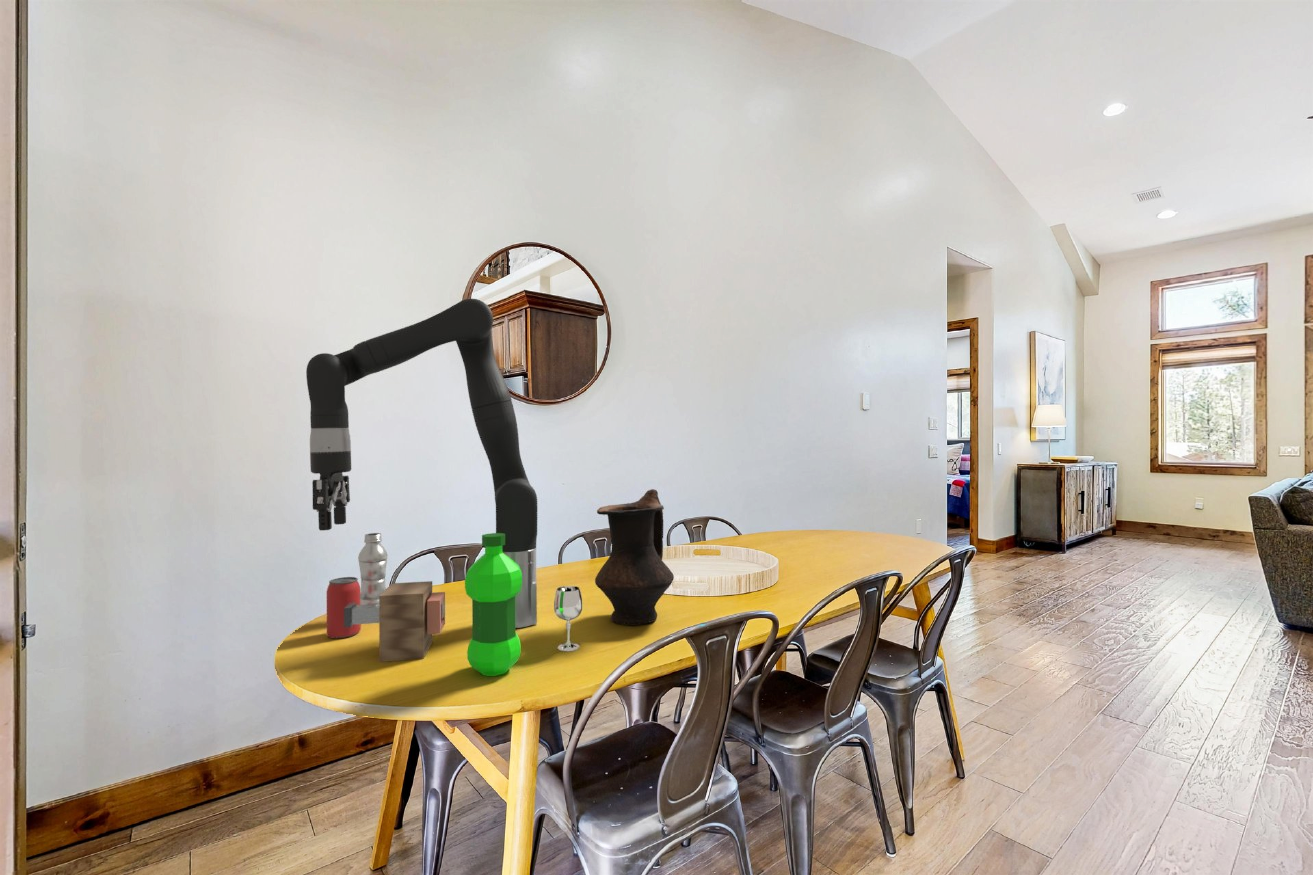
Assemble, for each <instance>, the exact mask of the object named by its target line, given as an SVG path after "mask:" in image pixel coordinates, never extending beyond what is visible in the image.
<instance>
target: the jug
mask: <svg viewBox="0 0 1313 875" xmlns="http://www.w3.org/2000/svg"><path fill="white" fill-rule="evenodd" d="M663 510H665V507H664V505H662V504H661V501H660V499H659V492H658V491H657V489H654V488H653V489H648V490H647V491H646V492H645V493H644V495H642V497H641V498H639V499H638V501H634V502H628V503H622V504H610V505H605V506H601V507H599V508H598V509H597V510H596V513H597V515H603V516H607V521H608V526H609V533H610V543H611V551H610V554H609V557H608V559H607V560H606V561H605V562H604V564H603V565H602V567H601V568H600V570H599V571H598V573H597V575H596V576H595V578H594V582H595V583H594V584H595V586H596V587H597V588H598V589H600V591H601V592H602V593H603V594H604V595H605V596H606V597H607V599H608V600H609V602H610V604H611V605H612V606H613V611H612V613H611V615H610V619H611V620H610V621H611V622H612V623H615V624H618V625H631V626H634V625H643V624H648V623H652V622H655V621H657V618H658V613H657V611H656V605H657V603H658V601H659V600H660V599H661V598H662V596H663V595H664V593H665V592H666V590H669V588H670V586H671V585H672V583H673V581H674V579H675V576H674V574H673V572H672V571H671V569H670V568H669V567H668V566H667V564H666V563H665V562H664V561H663V556H664V541H663V539H664V511H663Z"/></svg>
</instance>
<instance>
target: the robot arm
mask: <svg viewBox="0 0 1313 875" xmlns="http://www.w3.org/2000/svg"><path fill="white" fill-rule="evenodd" d="M493 324H494V315H493V311H492V309H491V308H490V307H489V305H488V304H487V303H485V302H484V301H482V300H480V299H477V298H465V299H462V300H460V301H459V302H457V303H455V304H453V305H452V306H450V307H448V308H447V309H445V310H443V311H441V312H439V313H437V314H435V315H432V316H431V317H428V318H426V319H423V320H420V321H418V322H416V323H414V324H411V325H408V326H405V327H402V328H399V329H396V330H393V331H390V332H387V333H384V334H381V335H378V336H375V337H371V338H369V339H367V340H364V341H361V342H358V343H357V344H355V345H354V346H353V347H352V348H350V349H348V350H345V351H342V352H340V353H336V354H331V353H328V352H327V353H326V352H325V353H324V352H323V353H319V354H316V355H314V356H312V357H311V358H310V359H309V361H308V363H307V366H306V375H305V376H306V384H307V385H306V386H307V392H308V397H309V402H310V403H309V404H310V435H309V458H310V460H309V461H310V465H309V466H310V472H311V473H312V474H314V475H315V474H317V475H318V474H319V479H312V482H311V483H312V510H314V511H316V513H317V514H318V515H317V516H318V530H319V531H330V530H331V529H332V528H333V527H332V525H333V523H334V525H344V524H346V523H347V510H346V509H347V508H346V507H347V506H348V503H350V501H351V497H350V495H351V494H350V493H351V492H350V477H349V475H344V474H343V473H349V472H351V470H352V449H351V448H352V446H351V445H352V444H351V443H352V442H351V434H350V428H349V424H350V423H349V408H348V405H347V402H346V389H345V388H346V386H348V385H351V384H353V383H355V382H357V381H359V380H361V379H363V378H366V377H367V376H370V375H372V374H377V373H379V372H383V371H385V370H387V369H390V368H393V367H397V366H398V365H401V364H403V363H406V362H408V361H409V360H412V359H414V358H415V357H418V356H420V355H421V354H424V353H426V352H427V351H430V350H432V349H434V348H436V347H439V346H442V345H445V344H449V343H453V342H455V343H456V345H457V347H458V351H459V353H460V355H461V359H462V363H463V366H464V370H465V377H466V386H467V392H468V397H469V403H470V409H471V411H472V416H473V420H474V424H475V427H476V431H477V433H478V436H479V440H480V442H481V444H482V447H483V450H484V451H485V454H486V457H487V459H488V463H489V467H490V471H491V477H492V483H493V491H494V503H495V533H503V534H505V545H502V553H504V554H505V555H507V556H508V557H509V558H511V559H512V560H513V561H514V562H515V563H516V564H517V565H519V567H520V570H521V572H522V586H521V591H520V592H519V593H518V594H517V595H516V596H515V629H519V628H525V627H529V626H530V627H531V626H532V625H537V623H538V621H537V620H538V618H537V617H538V607H537V605H538V600H537V597H538V596H537V594H538V593H537V590H538V587H537V583H538V582H537V581H538V580H537V537H538V497H537V496H538V495H537V493H536V491H535V489H534V487H533V486H532V485H531V483H530V481H529V479H528V476H527V474H526V470H525V467H524V464H523V460H522V458H521V452H520V440H519V439H520V438H519V429H518V424H517V417H516V413H515V408H514V404H513V401H512V396H511V394H510V390H509V388H508V386H507V382H506V380H505V378H504V376H503V373H502V372H501V370H500V368H499V366H498V363H497V360H496V356H495V350H494V345H493V337H492V328H493ZM332 508H333V518H332ZM332 519H333V522H332Z"/></svg>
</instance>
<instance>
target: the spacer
mask: <svg viewBox="0 0 1313 875" xmlns="http://www.w3.org/2000/svg"><path fill="white" fill-rule="evenodd" d="M443 600H445V601H446V592H445V591H438V592H432V595H431V596H430V598H429V599H428V601H427V634H433V635H440V634H441V633H442V631H443V628H444V626H445V625H446V614H445V615H444V617H443V619H441V604H442V602H443Z"/></svg>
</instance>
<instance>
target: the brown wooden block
mask: <svg viewBox="0 0 1313 875" xmlns="http://www.w3.org/2000/svg"><path fill="white" fill-rule="evenodd" d="M432 593H433V581H432V580H430V581H429V580H428V581H411V582H396V583H395V582H393V583H390V584H389V585H388V587H387V588H386V590H385V591H384V592H383V593H382V594H381V595H380V596H379V623H378V625H379V630H378V632H379V635H378V636H379V637H378V638H379V646H378V647H379V648H378V649H379V663H382V662H383V663H384V662H397V661H409V660H410V661H411V660H422V659H425V657H426V655H427V653H428V651H429V649H430V647H431V646H432V643H433V637H434V636H433V635H434V634H427V620H426V601H428V599H429V598H430V596H431V595H432Z"/></svg>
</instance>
